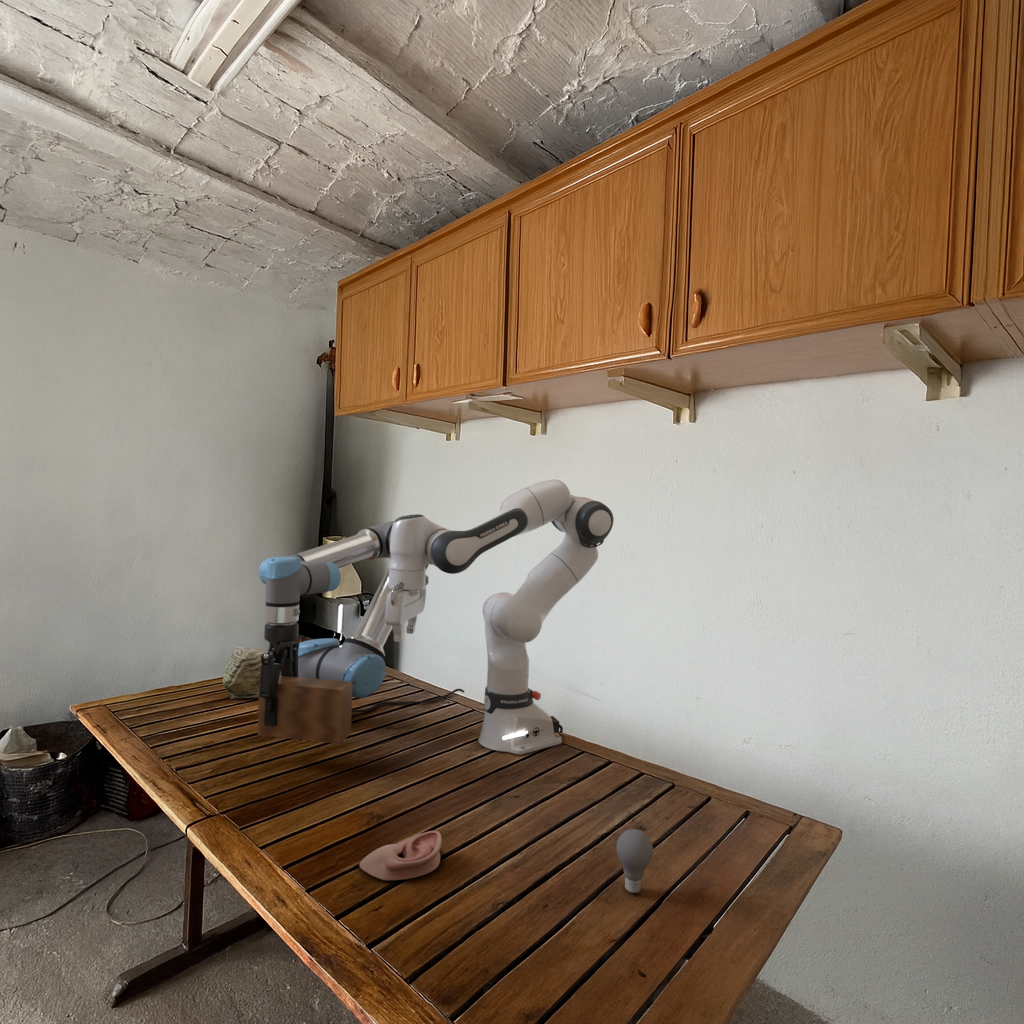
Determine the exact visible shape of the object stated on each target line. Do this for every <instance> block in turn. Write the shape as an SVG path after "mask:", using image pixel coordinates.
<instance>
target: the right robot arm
mask: <svg viewBox="0 0 1024 1024" xmlns="http://www.w3.org/2000/svg"><path fill="white" fill-rule="evenodd" d="M393 521H394V523H393V526H392V531H391V538H390V554H391V559H390V563H389V566H388V568H389V582H388V587H389V588H391V589H393V590H392V591H391V592H389V594H388V596H387V601H386V611H385V622H386V624H387V625H392V632H393V641H394V642H396V643H401V642H402V641H403V640H404V633H403V626H404V625H403V624H405V623H406V622H407V625H406V631H405V632H406V634H410V635H413V634H414V633H415V632H416V624H417V621H418V615H420V614H422V613H423V612H424V610H425V606H426V596H427V586H428V585H429V579H430V577H429V576H428V575H427V574H426V571H427V569H426V565H428V566H429V565H431V566H432V565H433V566H434V567H437V569H439V570H440V571H441V572H443V573H445V574H450V575H455V574H460V573H462V572H464V571H466V570H467V569H468V568H469V567H470V566H471V565H472V564H473V563H474V562H475V561H476V560H477V558H479V556H480V555H482V554H484V553H485V552H487V551H489V550H491V549H493V548H494V547H497V546H499V545H500V544H502V543H505V542H506V541H508V540H510V539H512V538H514V537H517V536H521V535H523V534H526V533H530V532H532V531H535V530H537V529H539V528H541V527H543V526H545V525H548V524H549V523H551V524H552V525H553V526H554V527H555V529H556V530H558V531H559V532H562V533H565V534H564V537H563V540H562V541H561V543H560V544H559V545H558V546H557V547H556V548H554V550H552V551H550V553H549V554H547V555H546V556H545V557H544V558H543V559H542V560H541V561H540V562H539V563H538V564H536V565H535V567H533V568H532V569H531V570H530V571H529V572H528V574H527V576H526V578H525V580H524V582H523V583H522V584H521V585H520V587H519V588H518V590H517V591H516V592H515V593H514V594H512V593H510V592H504V591H501V592H496V593H492V594H491V595H490V596H488V597H487V598H486V599H485V601H484V603H483V605H482V616H483V621H484V632H485V633H484V634H485V643H486V652H487V670H486V671H487V672H486V673H487V674H486V687H485V688H484V699H483V707H484V715H483V721H482V725H481V730H480V733H479V736H478V739H477V741H478V743H479V745H481V747H484V748H486V749H489V750H492V751H497V752H504V753H505V752H506V753H510V754H515V755H525V754H528V753H529V754H530V753H532V752H536V751H539V750H543V749H547V748H551V747H554V746H558V745H560V744H562V743H563V739H562V736H563V731H564V728H563V726H562V724H560V720H559V719H557V718H556V717H555V716H554V715H550V714H549V713H548V712H546V711H545V710H544V709H543V708H541V707H540V706H539V705H538V704H537V703H535V702H534V700H535V701H539V700H541V698H542V694H541V693H540V692H539V691H537V690H533V689H531V688H529V675H530V658H529V654H528V651H527V646H526V644H527V643H530V642H532V641H534V640H535V639H536V638H537V637H538V636H539V634H540V633H541V630H542V626H543V623H544V621H545V620H546V618H547V617H548V616H549V614H550V613H551V611H552V610H553V609H554V607H555V606H556V605H557V604H558V602H559V601H561V599H563V598H564V597H565V596H566V595H567V594H568V593H569V592H570V591H571V590H572V589H573V588H574V587H576V585H577V584H579V583H580V582H581V581H582V580H583V579H584V577H586V575H588V574H589V572H590V571H591V569H593V566H594V565H595V564H596V563H597V561H598V559H599V551H598V547H600V546H601V545H602V544H603V543H604V541H605V539H606V538H608V536H609V535H610V533H611V531H612V529H613V526H614V514H613V512H612V510H611V509H610V508H609V507H608V506H607V505H605V503H603V502H601V501H599V500H594V499H592V498H590V497H585V496H577V495H573V494H571V491H570V489H569V487H568V486H567V485H566V483H564V481H562V480H559V479H549V480H544V481H540V482H537V483H533V484H531V485H529V486H528V485H527V486H526V487H524V488H521V489H519V490H517V491H515V492H513V493H512V494H510V495H509V496H507V497H506V498H504V499H503V500H502V502H501V504H500V507H499V512H498V513H497V515H495V516H494V517H492V518H491V519H488V520H486V521H485V522H482V523H480V524H478V525H476V526H474V527H472V528H470V529H467V530H451V529H449V528H445V527H443V526H440V525H439V524H436V523H435V522H433V521H431V520H430V519H428V518H427V517H426V516H425V515H423V514H419V513H418V514H407V515H402V516H399V517H397V518H396V519H395V520H393ZM425 570H426V571H425ZM560 733H562V734H560Z"/></svg>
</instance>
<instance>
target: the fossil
mask: <svg viewBox="0 0 1024 1024" xmlns="http://www.w3.org/2000/svg"><path fill="white" fill-rule="evenodd" d="M262 654H267V652H265V650H264V649H263V648H260V647H258V648H251V647H247V646H246V647H245V646H238V647H237V648H236V649H235V650H233V651H232V653H231V656H230V657H229V659H228V660H227V663H226V666H225V668H224V671H223V675H222V676H223V677H222V685H223V687H224V688H225V690H226V691H228V693H229V698H230V699H250V698H259V682H260V678H261V665H262V664H261V655H262ZM274 664H276V663H274ZM280 676H281V671H280Z"/></svg>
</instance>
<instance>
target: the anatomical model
mask: <svg viewBox="0 0 1024 1024" xmlns="http://www.w3.org/2000/svg"><path fill="white" fill-rule="evenodd" d="M442 843H443V838H442V834H441V833H440V831H438V830H429V831H426V832H422V833H418V834H416V835H414V836H411V837H410V838H407V839H404V840H403V841H400V842H397V843H390V844H386V845H382V846H380V847H378V848H375V850H373V851H371V852H370V853H369V854H367V855H366V856H364V857H363V859H362V860H361V861H360V863H359V868H360V869H361V870H362V871H363V872H365V873H367V874H368V875H370V876H372V877H374V878H376V879H378V880H381V881H389V882H390V881H401V880H409V879H413V878H418V877H421V876H424V875H427V874H430V873H431V872H433V871H435V870H436V869H437V868H438V867H439V866H440V863H441V862H440V861H441V853H440V851H441V848H442Z"/></svg>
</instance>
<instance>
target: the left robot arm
mask: <svg viewBox="0 0 1024 1024" xmlns="http://www.w3.org/2000/svg"><path fill="white" fill-rule="evenodd" d="M394 521H395V520H391V521H386V522H383V523H379V524H376V525H373V526H369V527H366V528H362V529H361V530H359V531H358V532H357V534H355V535H351V536H348V537H346V538H343V539H340V540H336V541H332V542H329V543H326V544H323V545H320V546H317V547H313V548H311V549H307V550H304V551H302V552H301V551H300V552H298V553H294V554H290V555H287V556H272V557H267V558H265V559H264V560H263V561H262V562H261V564H260V565H259V568H258V577H259V579H260V581H261V582H262V584H263V585H265V608H264V623H266V624H264V632H263V638H264V640H265V641H267V642H268V643H269V644H268V648H267V652H266V654H262V655H261V664H262V665H261V678H260V691H259V697H263V698H265V719H264V725H269V726H276V725H277V706H278V697H276V692H277V686H278V681H279V676H280V672H281V676H289V677H301V678H312V679H323V680H334V681H345V682H353V687H352V698H357V699H365V698H367V697H370V696H372V695H373V694H374V693H376V692H377V691H378V690H379V688H380V687H381V686H382V684H383V682H384V680H385V677H386V672H387V671H385V670H386V669H387V668H386V667H387V666H386V662H385V657H386V654H385V650H384V646H385V644H386V642H387V639H388V637H389V636H390V633H391V632H392V631H393V629H392V625H387V624H386V622H385V611H386V601H387V596H388V594H389V592H391V591H392V590H393V589H391V588H389V587H388V582H389V567H388V568H387V570H386V572H385V574H384V576H383V578H382V580H381V582H380V584H379V585H378V588H377V590H376V591H375V593H374V596H373V597H372V599H371V600H370V603H369V605H368V607H367V609H366V611H365V613H364V615H363V617H362V618H361V620H360V623H359V625H358V626H357V629H356V631H355V632H354V634H352V635H350V636H347V637H346V638H345V640H344V641H343V643H342V645H341V643H340V641H339V639H338V638H335V637H333V638H332V637H329V638H315V639H308V640H304V641H302V642H295V640H297V639H298V638H299V623H298V621H299V619H300V618H299V616H300V614H301V610H300V598H301V596H305V595H306V596H307V595H314V594H326V593H328V592H329V593H330V592H333V591H335V590H337V588H339V586H340V584H341V582H342V581H341V580H342V573H341V570H340V569H341V568H344V567H346V566H349V565H353V564H354V563H357V562H358V563H359V562H361V561H363V560H367V561H374V560H376V559H382V558H383V559H390V560H391V554H390V538H391V531H392V526H393V523H394ZM428 567H429V565H426V570H425V572H427V570H428ZM340 646H341V647H340ZM274 663H275V664H274ZM456 692H461V693H465V690H464V689H462V688H456V689H454V690H452V691H450V692H449V693H446V694H444V695H441V696H439V697H437V698H434V699H427V700H411V701H409V700H408V701H407V700H406V701H400V700H399V701H398V700H397V701H395V700H394V701H390V700H389V701H382V702H378V703H375V704H373V705H372V706H370V707H369V708H365V709H352V713H367V712H369V711H371V710H372V711H373V709H375V708H377V707H379V706H383V705H393V704H394V705H411V704H412V705H413V704H414V705H415V704H417V705H418V704H429V703H435V702H438V701H441V700H442V699H444V698H447V697H450V696H451V695H453V694H454V693H456ZM259 697H258V698H259Z"/></svg>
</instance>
